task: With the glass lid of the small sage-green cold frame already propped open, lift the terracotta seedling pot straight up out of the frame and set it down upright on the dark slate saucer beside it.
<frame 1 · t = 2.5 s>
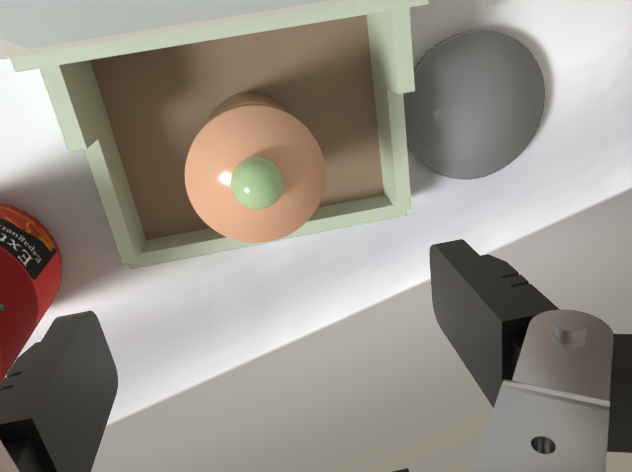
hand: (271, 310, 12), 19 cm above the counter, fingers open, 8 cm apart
cold frame: (249, 129, 29), on the counter
terracotta pot: (251, 140, 29), point 1 cm above the counter, touching cold frame
slate saucer: (470, 107, 31), on the counter
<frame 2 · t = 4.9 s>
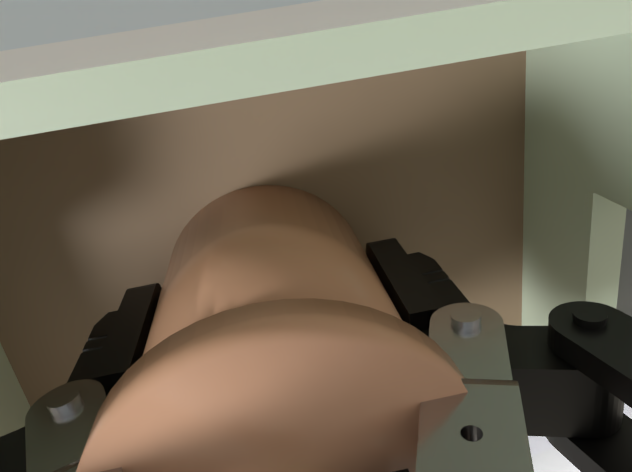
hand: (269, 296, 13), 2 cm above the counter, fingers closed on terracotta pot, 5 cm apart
cold frame: (264, 252, 14), on the counter
terracotta pot: (268, 277, 14), point 1 cm above the counter, touching cold frame, gripper
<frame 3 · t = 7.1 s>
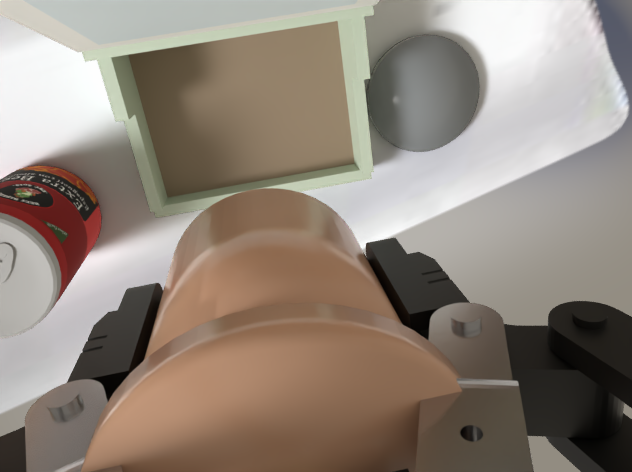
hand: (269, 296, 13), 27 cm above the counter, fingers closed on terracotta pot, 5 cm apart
canned food: (51, 212, 39), on the counter
cold frame: (248, 110, 38), on the counter
terracotta pot: (269, 280, 14), point 26 cm above the counter, touching gripper
slate saucer: (421, 94, 39), on the counter
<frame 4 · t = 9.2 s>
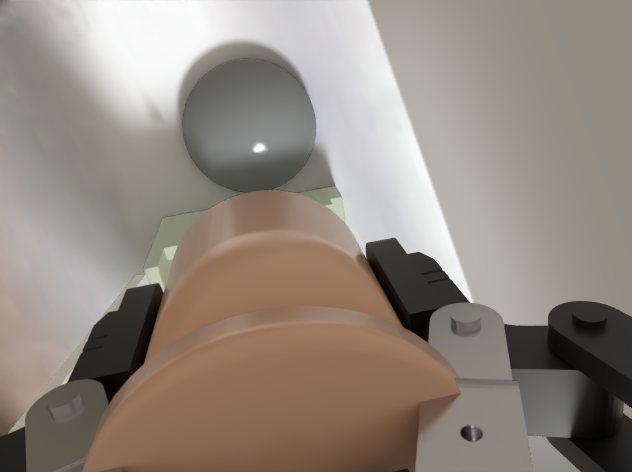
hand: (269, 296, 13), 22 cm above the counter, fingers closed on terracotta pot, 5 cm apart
cold frame: (271, 301, 39), on the counter
terracotta pot: (269, 282, 14), point 21 cm above the counter, touching gripper
slate saucer: (250, 126, 34), on the counter
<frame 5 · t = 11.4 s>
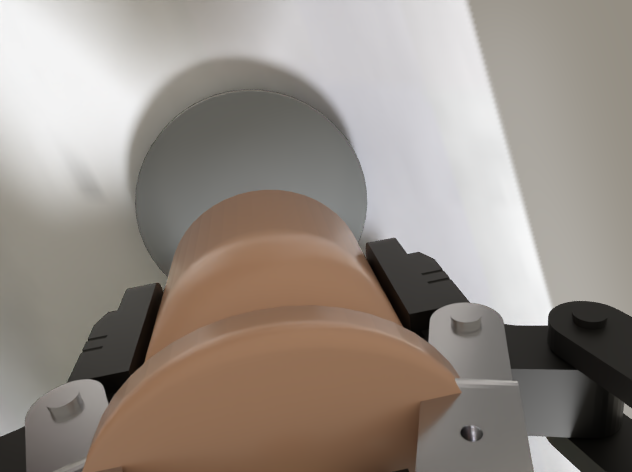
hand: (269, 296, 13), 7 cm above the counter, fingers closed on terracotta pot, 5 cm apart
terracotta pot: (269, 281, 14), point 6 cm above the counter, touching gripper
slate saucer: (254, 203, 20), on the counter
when the fingers open (3 cm above the counter, at t = 13.4 s): terracotta pot drops 1 cm, resting on slate saucer.
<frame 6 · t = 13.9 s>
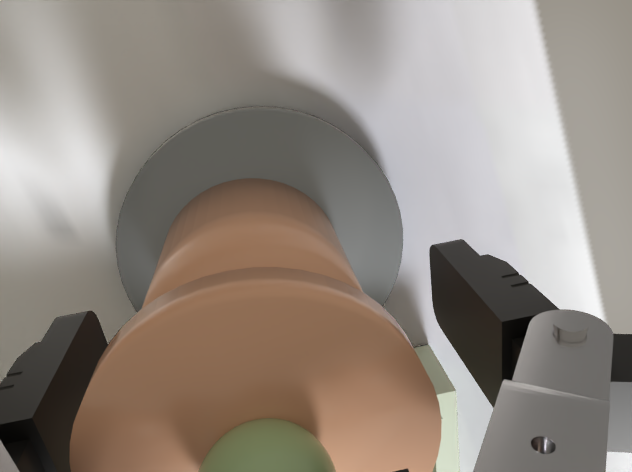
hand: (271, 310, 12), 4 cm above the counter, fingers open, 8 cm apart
terracotta pot: (253, 262, 15), point 1 cm above the counter, touching slate saucer
slate saucer: (263, 244, 16), on the counter
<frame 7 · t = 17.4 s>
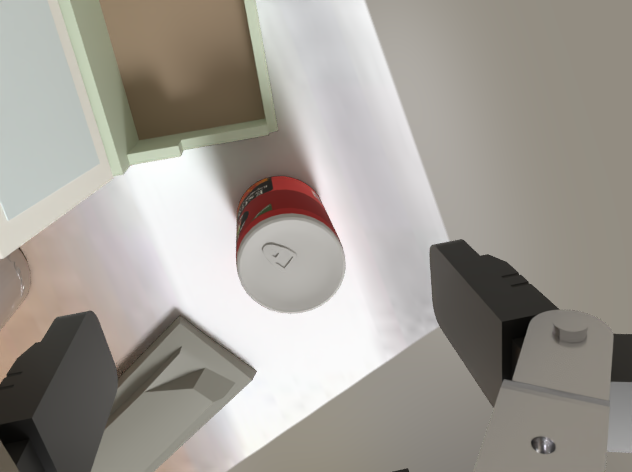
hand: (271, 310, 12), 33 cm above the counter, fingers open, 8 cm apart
canned food: (280, 213, 47), on the counter
cold frame: (181, 35, 40), on the counter
glass lid: (10, 65, 26), point 14 cm above the counter, hinge at 102.0°
soap mold: (155, 402, 54), on the counter
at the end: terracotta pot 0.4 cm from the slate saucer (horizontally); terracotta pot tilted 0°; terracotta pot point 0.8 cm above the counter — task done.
